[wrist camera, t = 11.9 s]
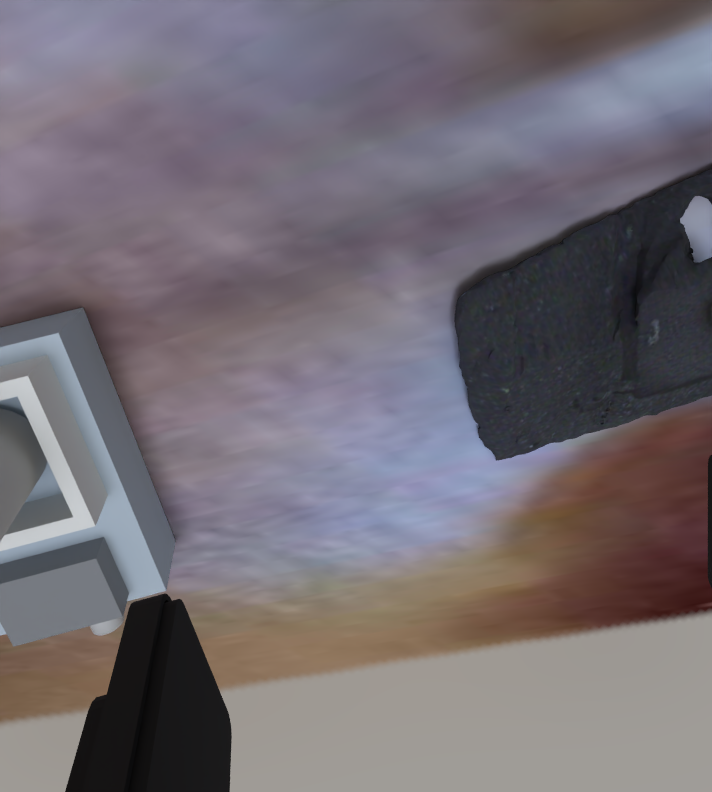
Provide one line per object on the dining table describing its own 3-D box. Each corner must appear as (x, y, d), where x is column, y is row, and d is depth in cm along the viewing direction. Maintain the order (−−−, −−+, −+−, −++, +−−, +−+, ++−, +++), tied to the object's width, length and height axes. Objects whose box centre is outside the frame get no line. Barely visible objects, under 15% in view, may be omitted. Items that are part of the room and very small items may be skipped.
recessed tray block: (-99, 352, 36) (-190, 409, 28) (82, 307, 36) (39, 352, 29) (41, 617, 43) (-3, 717, 36) (189, 577, 44) (177, 667, 36)
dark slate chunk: (425, 254, 38) (447, 269, 34) (776, 138, 39) (843, 139, 34) (479, 470, 44) (504, 507, 40) (782, 368, 45) (839, 393, 41)
